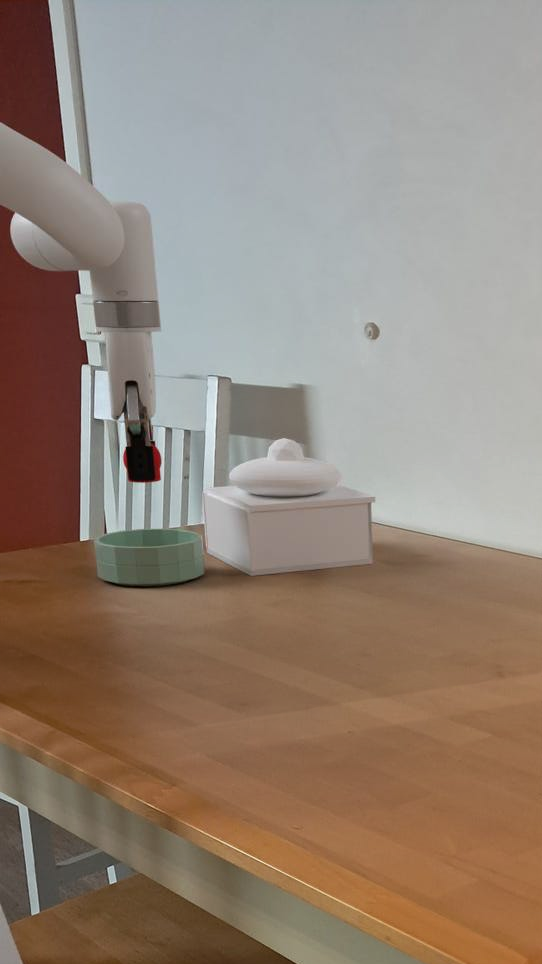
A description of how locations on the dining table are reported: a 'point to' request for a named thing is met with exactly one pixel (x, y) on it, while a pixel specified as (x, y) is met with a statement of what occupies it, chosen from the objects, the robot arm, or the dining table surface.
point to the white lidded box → (287, 516)
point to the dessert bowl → (149, 556)
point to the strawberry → (156, 461)
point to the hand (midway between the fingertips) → (143, 475)
